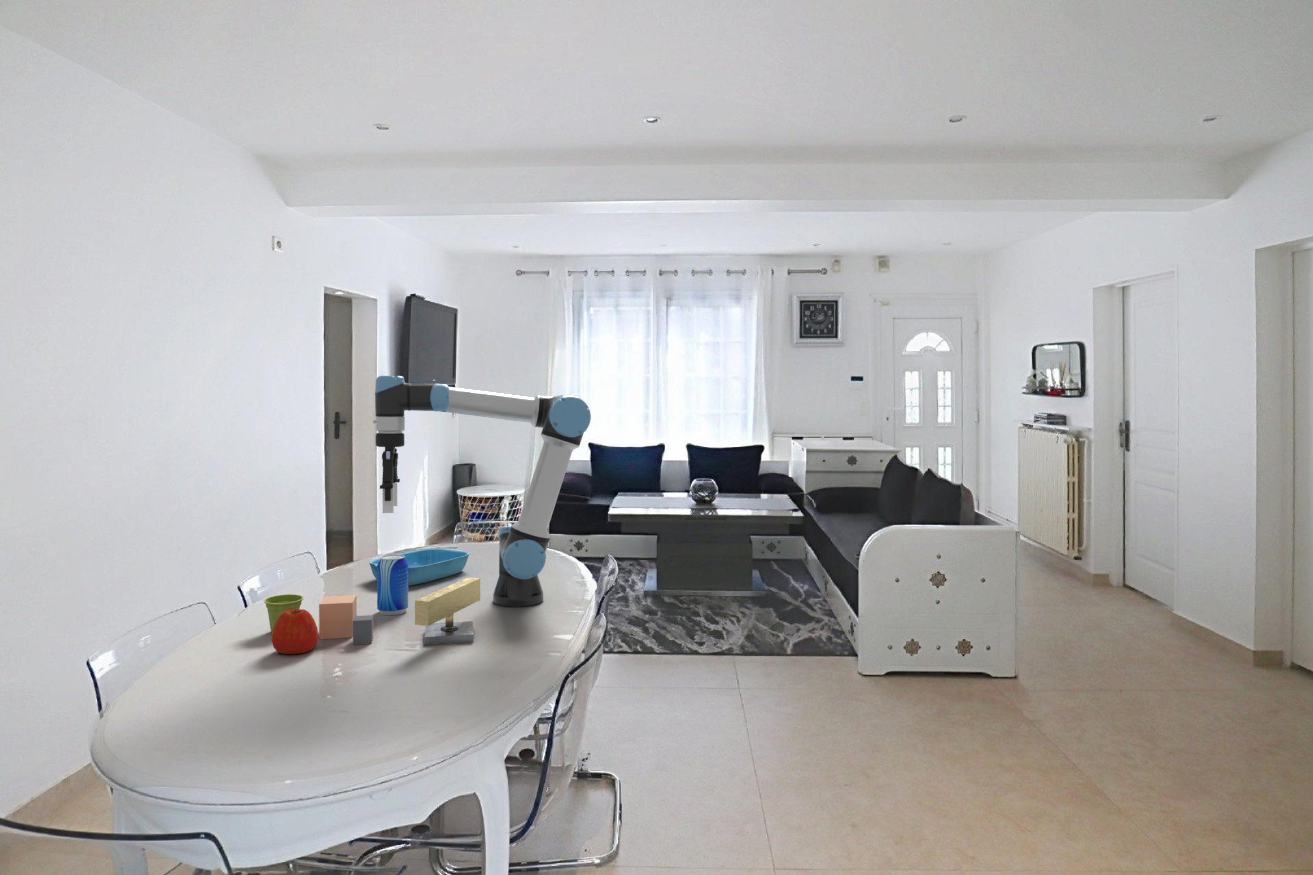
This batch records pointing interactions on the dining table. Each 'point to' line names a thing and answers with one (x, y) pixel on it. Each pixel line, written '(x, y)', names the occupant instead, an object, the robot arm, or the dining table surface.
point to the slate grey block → (363, 629)
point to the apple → (294, 632)
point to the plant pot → (281, 606)
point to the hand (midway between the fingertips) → (390, 509)
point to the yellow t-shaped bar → (446, 602)
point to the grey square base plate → (449, 633)
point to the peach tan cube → (337, 616)
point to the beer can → (392, 585)
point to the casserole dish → (430, 564)
